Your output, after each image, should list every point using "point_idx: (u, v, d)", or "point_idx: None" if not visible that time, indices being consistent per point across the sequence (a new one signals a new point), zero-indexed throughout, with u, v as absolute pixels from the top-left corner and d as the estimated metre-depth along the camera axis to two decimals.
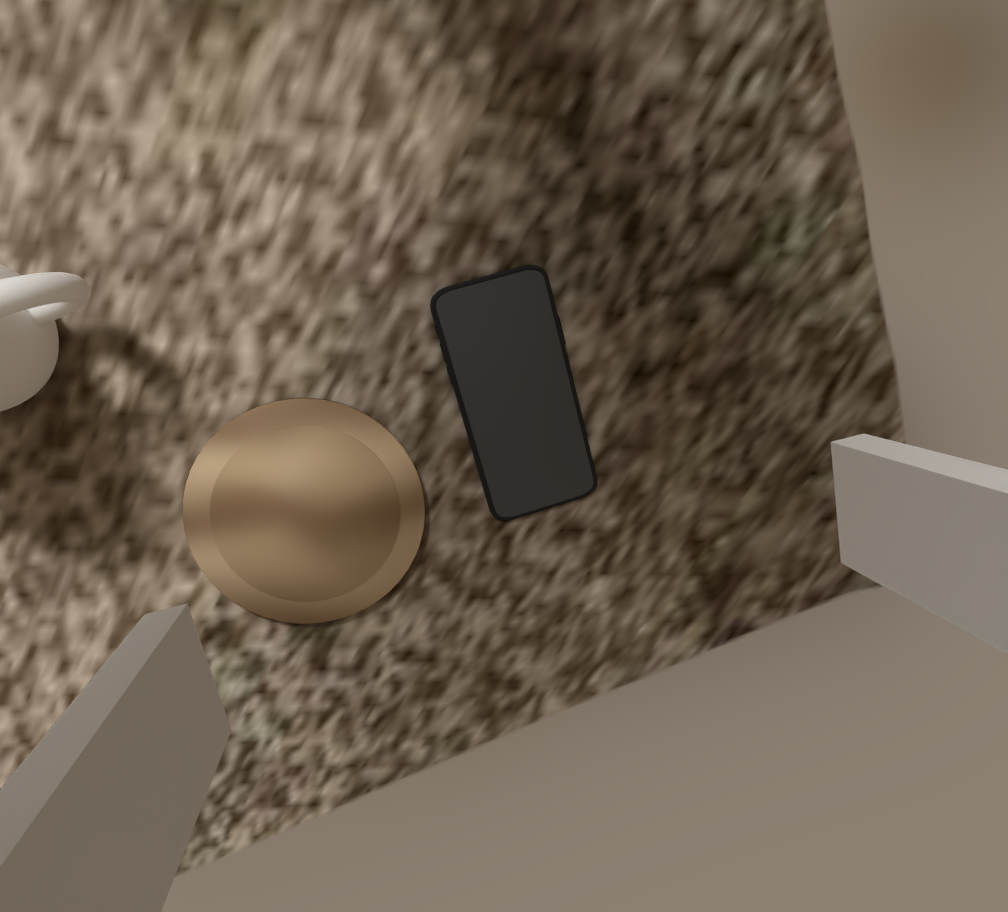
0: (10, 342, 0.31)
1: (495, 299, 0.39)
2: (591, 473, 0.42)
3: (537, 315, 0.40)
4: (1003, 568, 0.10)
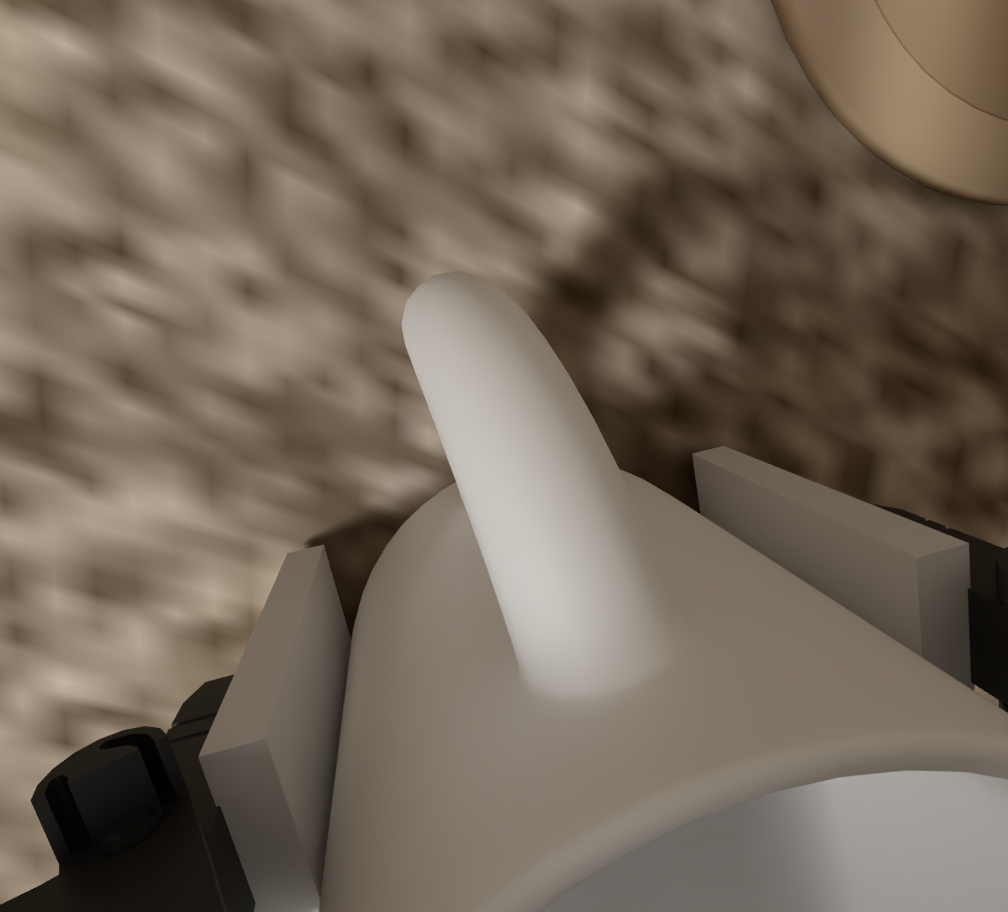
0: None
1: None
2: None
3: None
4: (803, 570, 0.11)
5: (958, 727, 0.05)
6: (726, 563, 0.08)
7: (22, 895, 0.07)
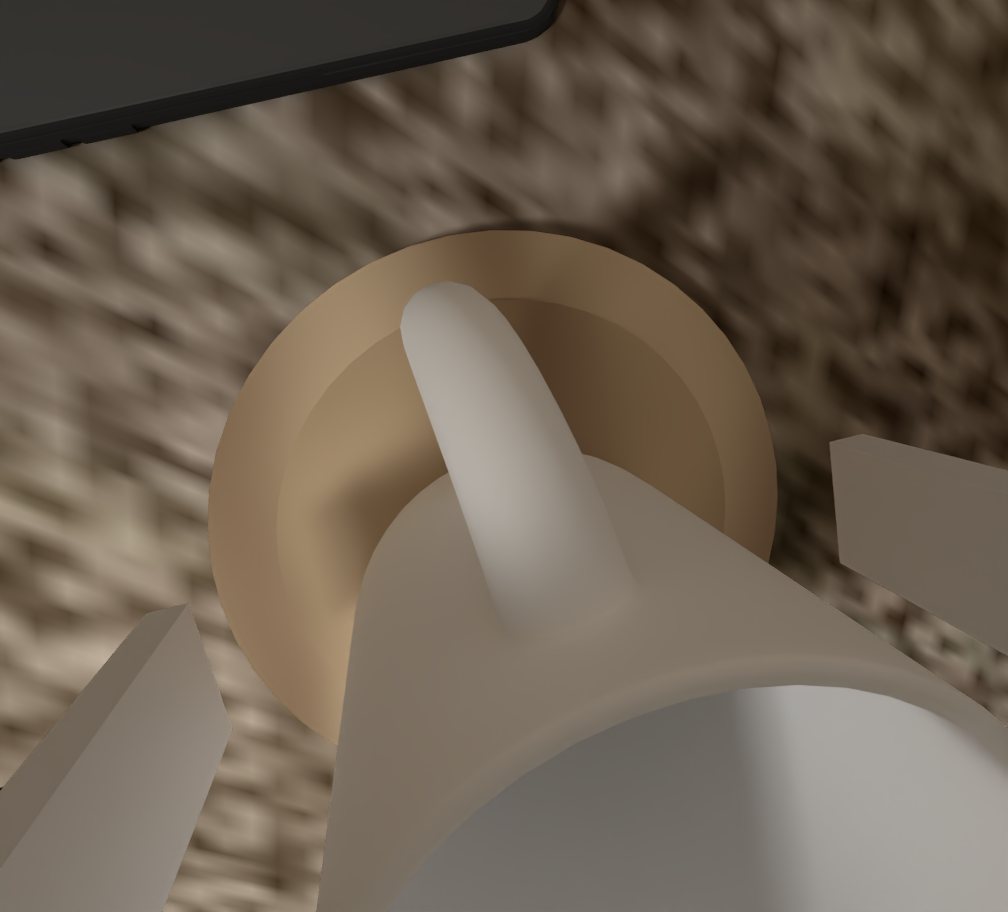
0: (608, 502, 0.10)
1: None
2: None
3: None
4: (1001, 568, 0.10)
5: (843, 654, 0.06)
6: (681, 536, 0.09)
7: None
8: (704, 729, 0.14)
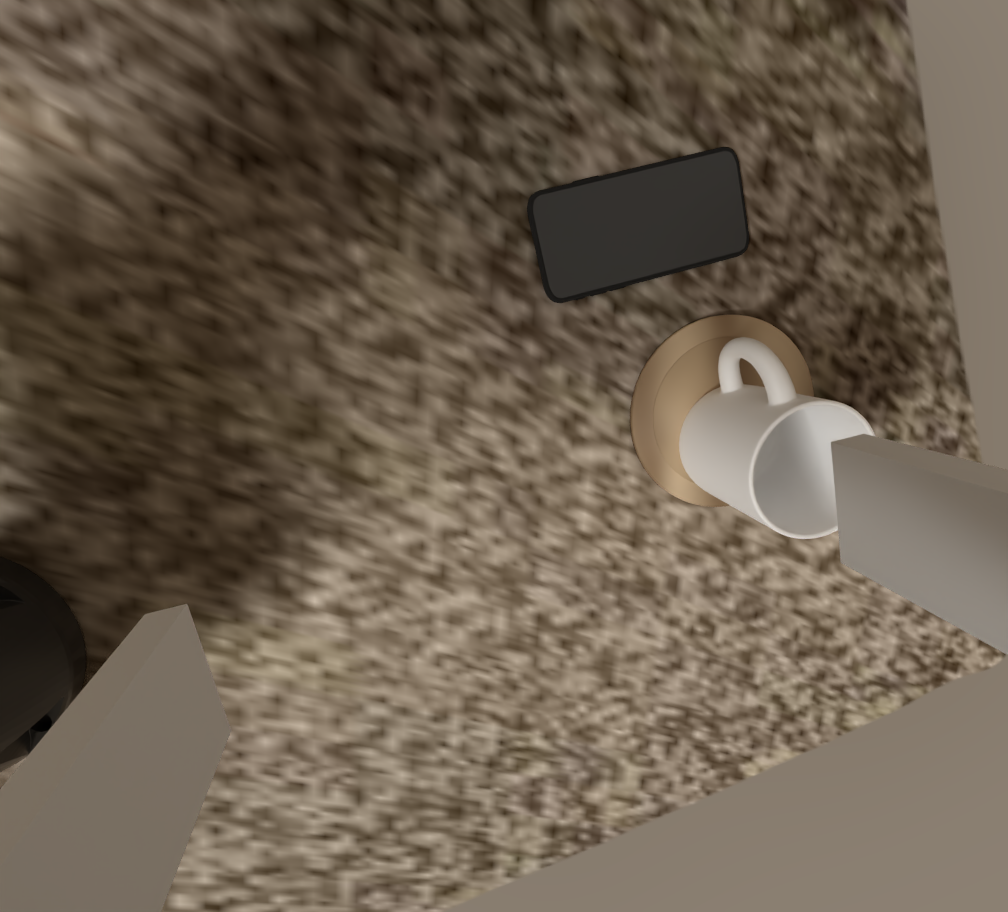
0: None
1: (557, 243, 0.43)
2: (717, 152, 0.44)
3: (572, 203, 0.43)
4: (1003, 568, 0.10)
5: (835, 401, 0.38)
6: (799, 394, 0.41)
7: None
8: (793, 471, 0.46)
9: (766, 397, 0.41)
